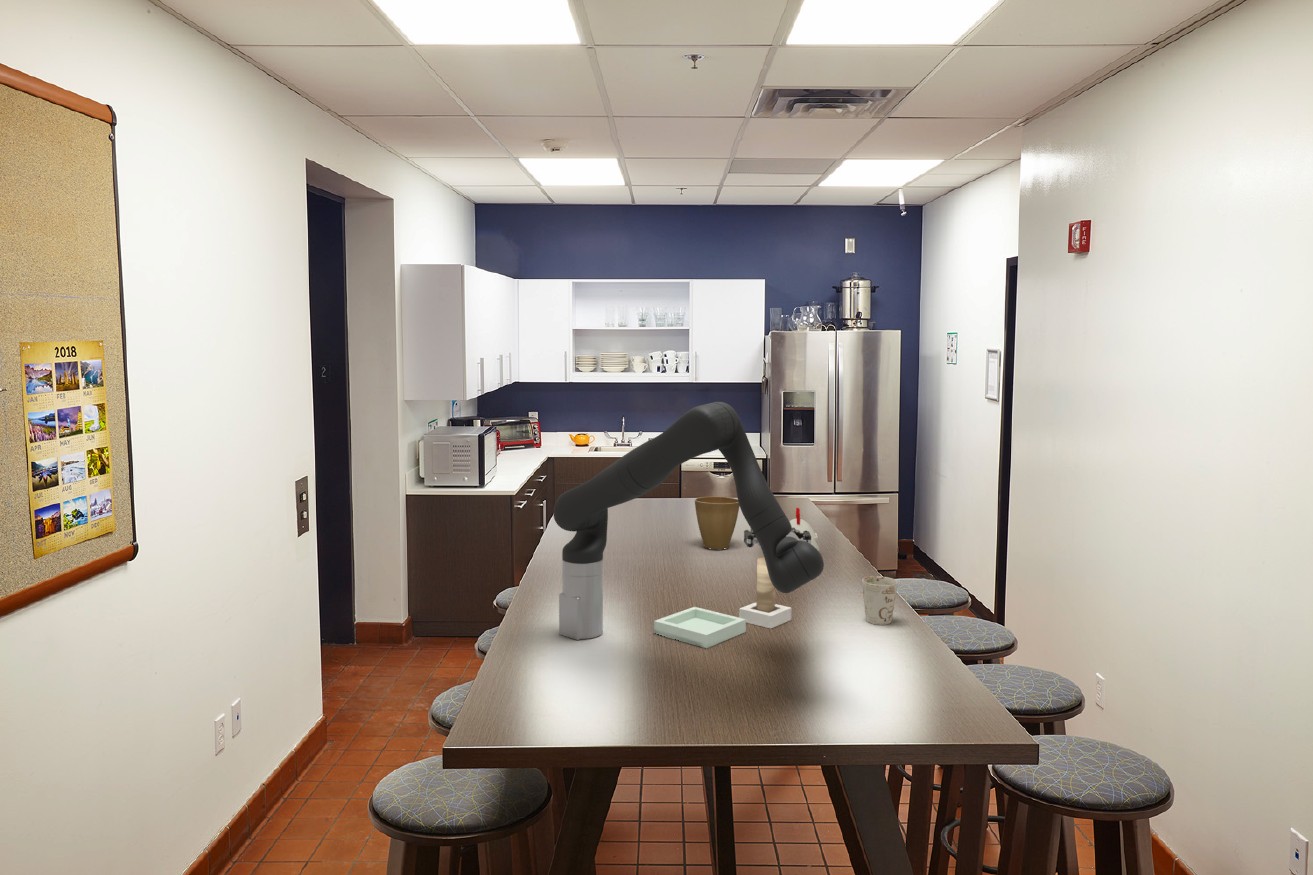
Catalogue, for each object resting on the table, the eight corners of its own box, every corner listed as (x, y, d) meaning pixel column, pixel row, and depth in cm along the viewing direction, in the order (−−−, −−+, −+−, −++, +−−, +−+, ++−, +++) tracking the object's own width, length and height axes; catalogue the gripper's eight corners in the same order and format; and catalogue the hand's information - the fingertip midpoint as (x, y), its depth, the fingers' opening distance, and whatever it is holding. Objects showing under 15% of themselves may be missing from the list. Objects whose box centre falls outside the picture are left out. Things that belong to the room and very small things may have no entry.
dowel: (767, 624, 210) (769, 562, 208) (752, 620, 213) (753, 559, 211) (777, 620, 213) (779, 559, 212) (762, 616, 216) (763, 556, 215)
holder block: (770, 628, 207) (771, 616, 206) (739, 620, 212) (739, 608, 212) (791, 619, 214) (791, 607, 213) (760, 612, 219) (760, 600, 219)
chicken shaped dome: (817, 551, 287) (818, 505, 286) (820, 561, 273) (822, 513, 272) (774, 549, 288) (775, 504, 287) (775, 559, 275) (776, 512, 273)
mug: (871, 627, 208) (873, 586, 207) (846, 612, 220) (847, 572, 219) (903, 625, 210) (904, 583, 209) (876, 609, 222) (877, 570, 221)
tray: (706, 648, 193) (706, 634, 192) (654, 633, 202) (654, 620, 202) (745, 631, 204) (745, 619, 204) (694, 618, 214) (694, 606, 213)
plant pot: (740, 553, 283) (741, 503, 281) (694, 552, 283) (695, 503, 281) (737, 543, 297) (738, 496, 296) (693, 542, 298) (694, 495, 296)
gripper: (818, 530, 183) (805, 515, 199) (749, 529, 183) (742, 515, 199) (817, 566, 184) (804, 548, 200) (748, 565, 184) (741, 547, 200)
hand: (773, 531), depth 199 cm, fingers open, 8 cm apart
